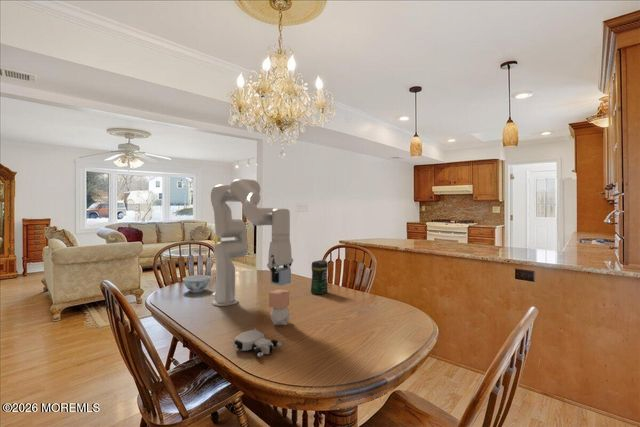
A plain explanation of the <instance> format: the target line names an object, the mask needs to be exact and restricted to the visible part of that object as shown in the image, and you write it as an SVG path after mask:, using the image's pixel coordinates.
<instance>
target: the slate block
mask: <svg viewBox="0 0 640 427" xmlns="http://www.w3.org/2000/svg"><path fill="white" fill-rule="evenodd" d="M275 269H276V267H275ZM278 273H279V282H278V283H275V282H272V273H271V272H270V284H271V285H276V286H281V287H283V286H285V285H288V284H291V283H292V268H291V267H290V268H283V266H279V269H278Z"/></svg>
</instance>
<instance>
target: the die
mask: <svg viewBox="0 0 640 427" xmlns="http://www.w3.org/2000/svg"><path fill="white" fill-rule="evenodd" d="M269 316H270V318H271V321H272V324H273V326H287V324H288V322H289V320H290V318H291V313H290V309H289V307H288V306H286V307H284V308H282V309H277V308H273V307H272V309H271V311H270V313H269Z"/></svg>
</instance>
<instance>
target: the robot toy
mask: <svg viewBox="0 0 640 427" xmlns="http://www.w3.org/2000/svg"><path fill="white" fill-rule="evenodd" d="M233 340H234V342H233V341H232V340H231V339H228V341H229V342H230V343H231V344H232V345H233V346H234V347H235V348H237V349H238V350H240V351H241V352H242V351H250V350H253V351H254V355H255V356H256V357H263V355H269V354H271V353H273V351H274V347H275V348H277V346H278V347H281V346H282V344H283V343H282V342H281V341H279V340H276V339H272V340H271V339H268V338H265V335H264V333H262V332H261V331H259V330H258V329H256V328H254V329H252V330H247V331H244V332H241V333H240V334H237V335H236V337H234V339H233Z"/></svg>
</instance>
